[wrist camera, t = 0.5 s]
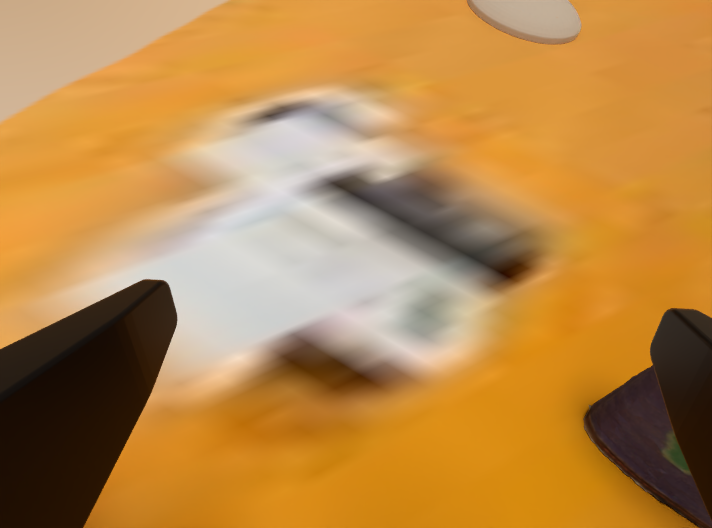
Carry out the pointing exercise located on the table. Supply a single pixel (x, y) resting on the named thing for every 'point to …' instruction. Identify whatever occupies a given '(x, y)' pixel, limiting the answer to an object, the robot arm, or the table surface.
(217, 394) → the table surface
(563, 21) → the candlestick
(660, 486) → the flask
